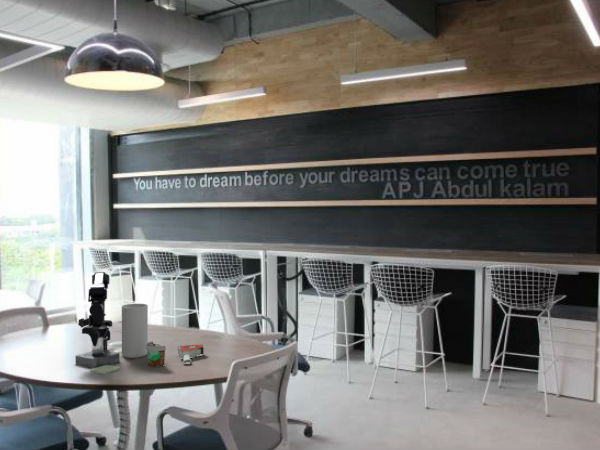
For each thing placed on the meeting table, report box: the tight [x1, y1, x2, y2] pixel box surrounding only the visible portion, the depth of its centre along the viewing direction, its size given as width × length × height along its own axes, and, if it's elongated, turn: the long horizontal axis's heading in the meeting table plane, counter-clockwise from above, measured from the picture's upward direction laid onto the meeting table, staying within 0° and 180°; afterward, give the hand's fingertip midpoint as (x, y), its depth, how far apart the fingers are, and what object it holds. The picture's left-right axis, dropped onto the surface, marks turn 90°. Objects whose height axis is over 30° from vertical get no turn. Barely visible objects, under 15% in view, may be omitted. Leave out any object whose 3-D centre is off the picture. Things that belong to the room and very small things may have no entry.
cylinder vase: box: [121, 303, 149, 359], centre depth 283 cm, size 12×12×25 cm
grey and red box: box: [177, 344, 205, 364], centre depth 278 cm, size 18×5×20 cm
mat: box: [90, 364, 121, 375], centre depth 257 cm, size 9×9×1 cm
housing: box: [75, 350, 120, 369], centre depth 269 cm, size 14×14×4 cm
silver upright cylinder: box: [91, 336, 103, 356], centre depth 269 cm, size 5×5×9 cm
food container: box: [146, 340, 167, 367], centre depth 265 cm, size 12×6×10 cm, turn 45°
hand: (97, 344), depth 269 cm, fingers closed on silver upright cylinder, 5 cm apart
